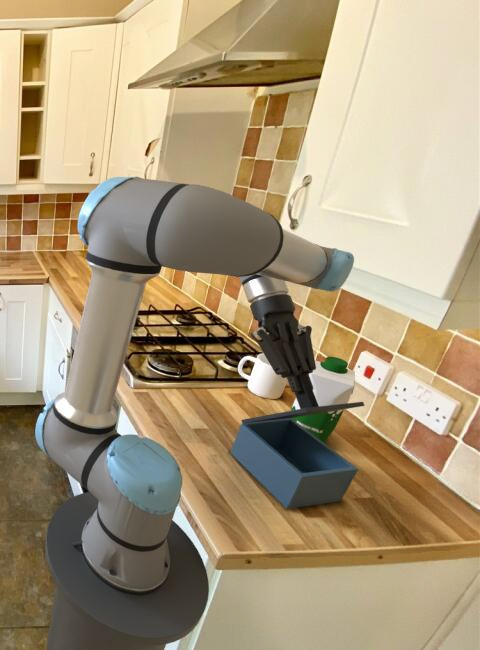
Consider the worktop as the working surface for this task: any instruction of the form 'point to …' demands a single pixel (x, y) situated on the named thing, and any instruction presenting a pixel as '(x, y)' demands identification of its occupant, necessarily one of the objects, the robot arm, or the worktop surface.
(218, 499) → the worktop surface
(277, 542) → the worktop surface
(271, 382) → the cup
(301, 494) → the storage box
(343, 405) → the lid
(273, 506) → the worktop surface
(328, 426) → the milk carton
